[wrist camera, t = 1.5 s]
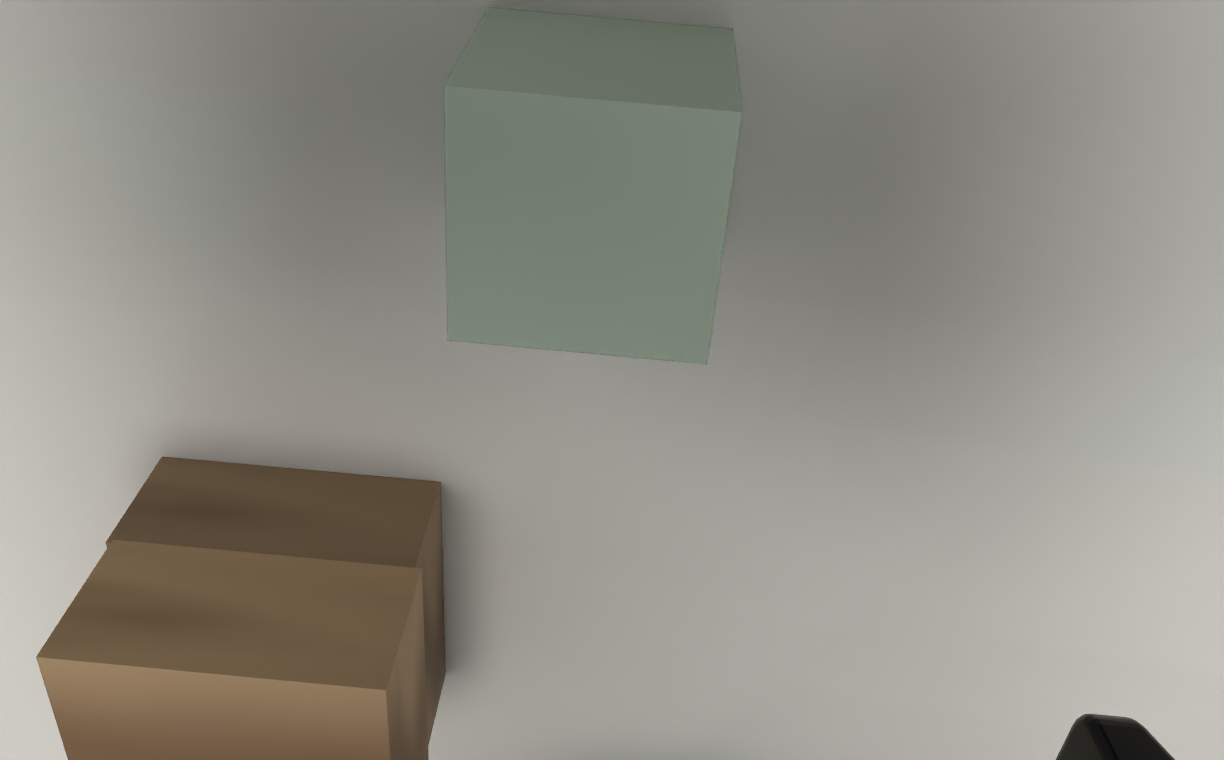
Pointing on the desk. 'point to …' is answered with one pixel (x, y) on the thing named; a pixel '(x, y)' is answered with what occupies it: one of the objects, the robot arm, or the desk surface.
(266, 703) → the brown square block
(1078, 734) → the robot arm
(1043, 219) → the desk surface
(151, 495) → the block
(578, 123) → the sage block
